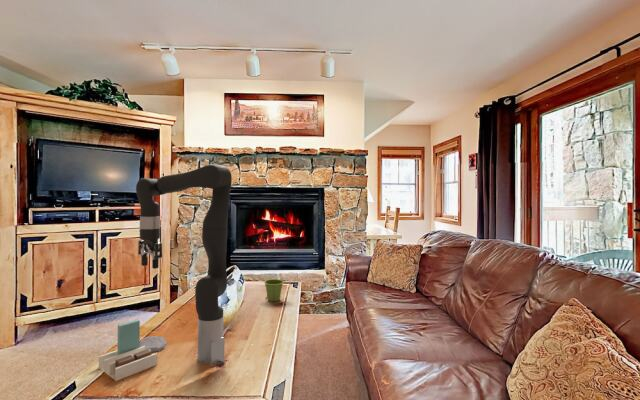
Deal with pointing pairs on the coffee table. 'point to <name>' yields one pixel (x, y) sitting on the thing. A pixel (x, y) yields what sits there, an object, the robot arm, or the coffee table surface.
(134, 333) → the sheet
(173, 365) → the coffee table surface
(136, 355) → the offcut
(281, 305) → the coffee table surface
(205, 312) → the robot arm
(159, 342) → the stone block
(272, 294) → the plant pot
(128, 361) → the offcut
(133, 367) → the rack
